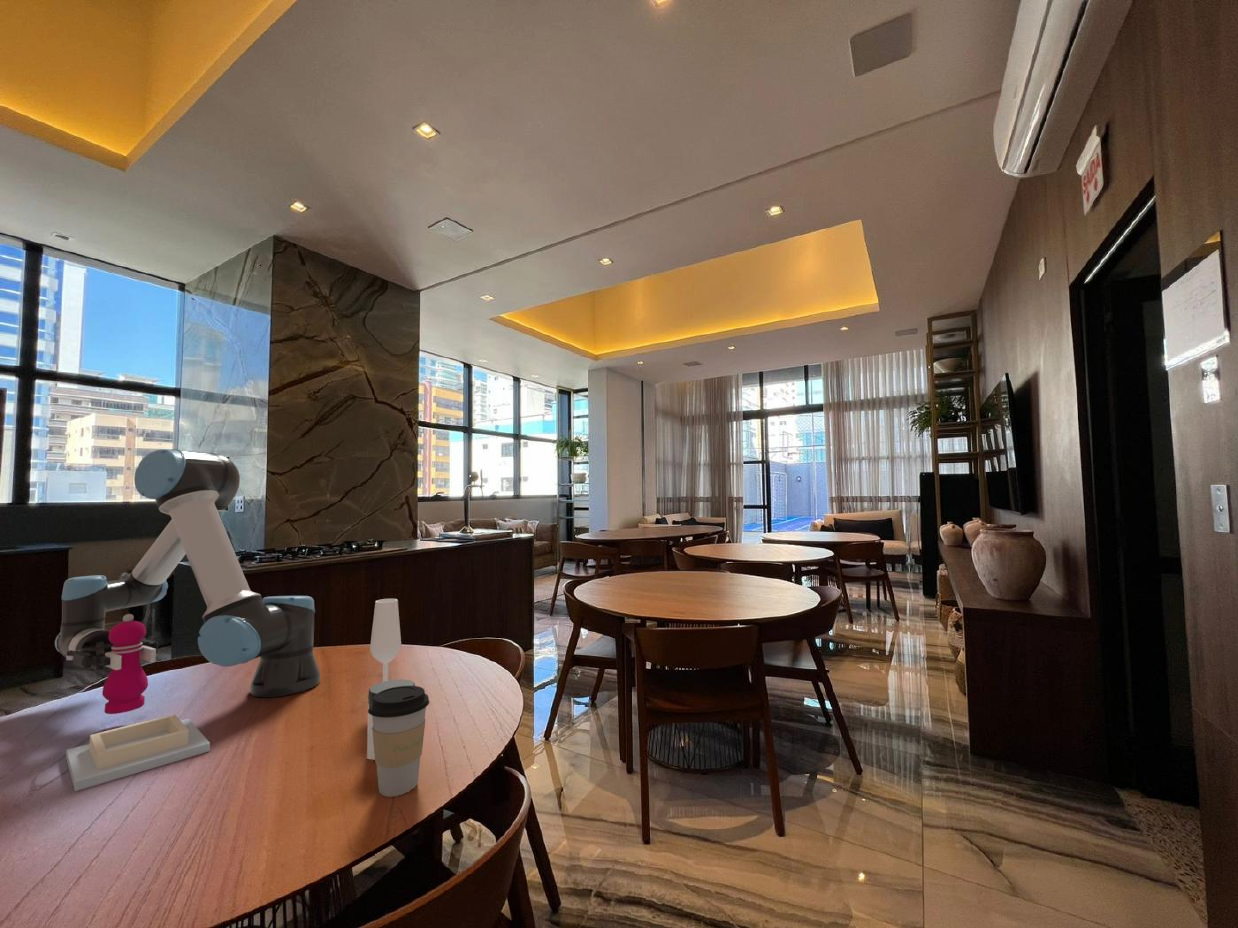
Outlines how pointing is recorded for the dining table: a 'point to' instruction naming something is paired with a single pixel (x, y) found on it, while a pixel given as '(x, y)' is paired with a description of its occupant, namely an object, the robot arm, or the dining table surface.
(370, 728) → the jar
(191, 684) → the dining table surface
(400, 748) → the coffee cup
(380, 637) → the champagne flute
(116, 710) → the pepper mill
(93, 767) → the board
